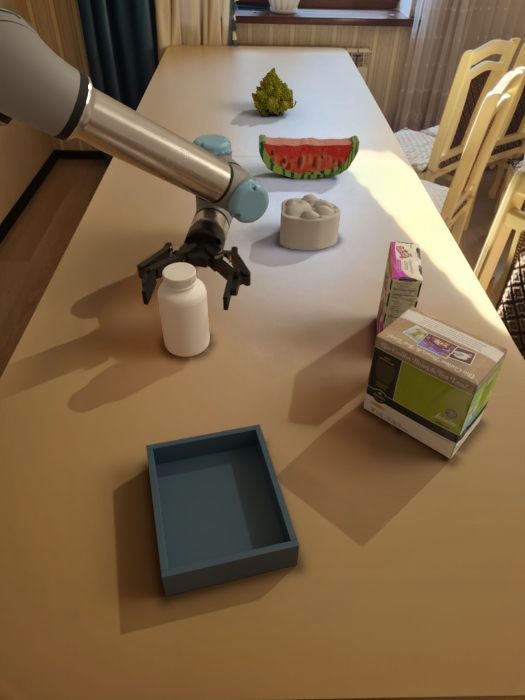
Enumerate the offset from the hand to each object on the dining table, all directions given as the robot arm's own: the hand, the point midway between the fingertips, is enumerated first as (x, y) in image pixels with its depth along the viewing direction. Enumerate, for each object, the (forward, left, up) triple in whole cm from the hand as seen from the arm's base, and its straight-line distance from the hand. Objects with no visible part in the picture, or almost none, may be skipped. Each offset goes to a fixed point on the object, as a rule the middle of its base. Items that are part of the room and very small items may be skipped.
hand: (184, 301), depth 90 cm
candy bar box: (+8, +35, -9) cm, 37 cm away
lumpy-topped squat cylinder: (-29, +32, -9) cm, 44 cm away
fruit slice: (-62, +42, -9) cm, 75 cm away
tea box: (+26, +32, -9) cm, 42 cm away
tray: (+35, -1, -8) cm, 36 cm away
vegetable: (-114, +46, -9) cm, 123 cm away
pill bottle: (+1, 0, -9) cm, 9 cm away
